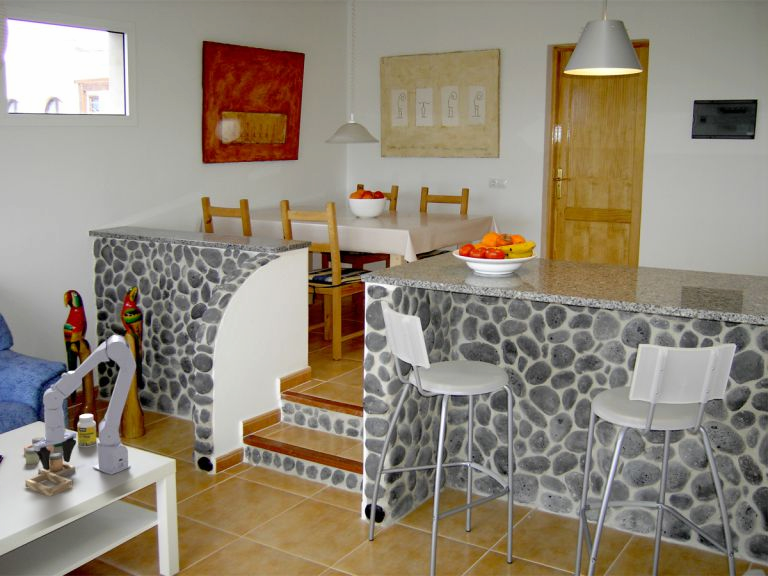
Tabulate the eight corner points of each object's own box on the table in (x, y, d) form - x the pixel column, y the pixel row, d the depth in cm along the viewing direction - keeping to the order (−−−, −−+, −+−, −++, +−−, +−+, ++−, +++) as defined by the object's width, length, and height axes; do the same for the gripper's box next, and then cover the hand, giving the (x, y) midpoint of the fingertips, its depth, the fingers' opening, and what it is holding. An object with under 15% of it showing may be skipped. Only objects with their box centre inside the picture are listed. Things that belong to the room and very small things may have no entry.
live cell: (65, 469, 267) (64, 455, 267) (54, 473, 264) (53, 458, 263) (58, 466, 270) (57, 452, 269) (47, 470, 267) (46, 455, 266)
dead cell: (48, 452, 282) (47, 438, 281) (37, 456, 279) (36, 442, 278) (40, 450, 284) (40, 436, 283) (30, 453, 281) (29, 439, 280)
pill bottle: (77, 449, 287) (76, 419, 285) (78, 443, 293) (77, 413, 291) (96, 448, 289) (94, 418, 287) (97, 441, 295) (95, 412, 293)
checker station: (93, 478, 263) (93, 472, 263) (49, 496, 250) (49, 489, 250) (60, 466, 272) (59, 459, 272) (15, 482, 259) (15, 476, 259)
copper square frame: (54, 453, 283) (53, 445, 282) (36, 460, 277) (36, 451, 276) (41, 449, 286) (41, 441, 286) (24, 455, 281) (23, 447, 280)
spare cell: (41, 463, 275) (40, 449, 274) (30, 467, 271) (30, 452, 270) (34, 460, 277) (33, 446, 276) (23, 464, 273) (22, 450, 272)
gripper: (66, 416, 272) (68, 455, 275) (26, 429, 260) (28, 469, 263) (79, 420, 268) (81, 460, 271) (40, 433, 256) (42, 474, 259)
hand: (56, 465), depth 267 cm, fingers open, 7 cm apart
